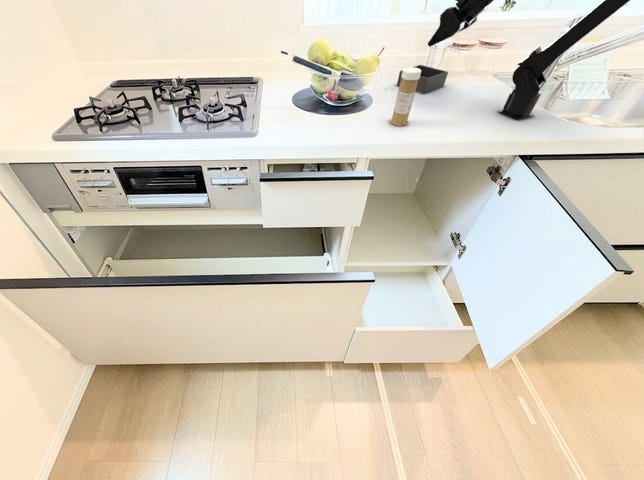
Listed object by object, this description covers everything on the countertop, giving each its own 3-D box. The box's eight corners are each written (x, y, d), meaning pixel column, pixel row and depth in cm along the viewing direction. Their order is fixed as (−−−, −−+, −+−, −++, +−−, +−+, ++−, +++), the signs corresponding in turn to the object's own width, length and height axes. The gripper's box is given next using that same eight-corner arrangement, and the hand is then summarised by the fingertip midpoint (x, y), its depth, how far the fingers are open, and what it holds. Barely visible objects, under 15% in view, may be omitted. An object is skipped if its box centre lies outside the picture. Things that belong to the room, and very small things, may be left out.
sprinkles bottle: (396, 118, 95) (410, 65, 85) (410, 123, 92) (425, 69, 82) (387, 122, 93) (399, 69, 83) (400, 127, 91) (414, 73, 81)
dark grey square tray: (443, 86, 112) (448, 71, 109) (423, 94, 108) (428, 78, 104) (416, 78, 118) (420, 64, 115) (396, 85, 114) (399, 71, 111)
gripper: (482, -40, 88) (431, 13, 101) (458, -34, 78) (406, 24, 92) (504, -4, 89) (451, 44, 102) (483, 6, 80) (427, 58, 93)
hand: (434, 42), depth 97 cm, fingers open, 9 cm apart
